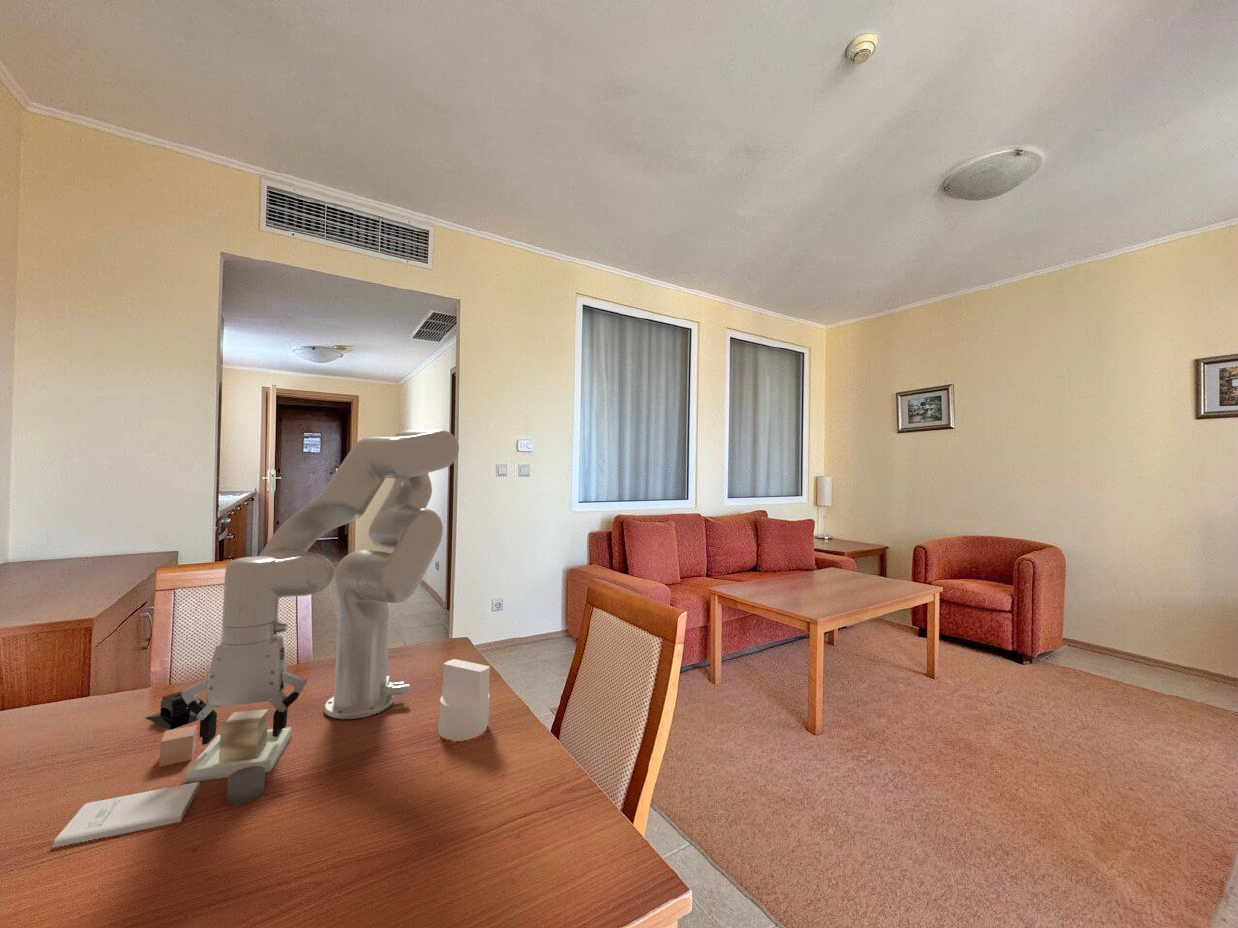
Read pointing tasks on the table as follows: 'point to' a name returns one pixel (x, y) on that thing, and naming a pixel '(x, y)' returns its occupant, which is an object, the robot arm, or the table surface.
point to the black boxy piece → (173, 712)
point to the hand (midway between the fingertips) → (244, 736)
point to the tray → (212, 769)
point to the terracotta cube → (178, 745)
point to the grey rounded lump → (245, 785)
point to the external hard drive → (128, 814)
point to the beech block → (243, 736)
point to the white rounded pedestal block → (464, 700)
